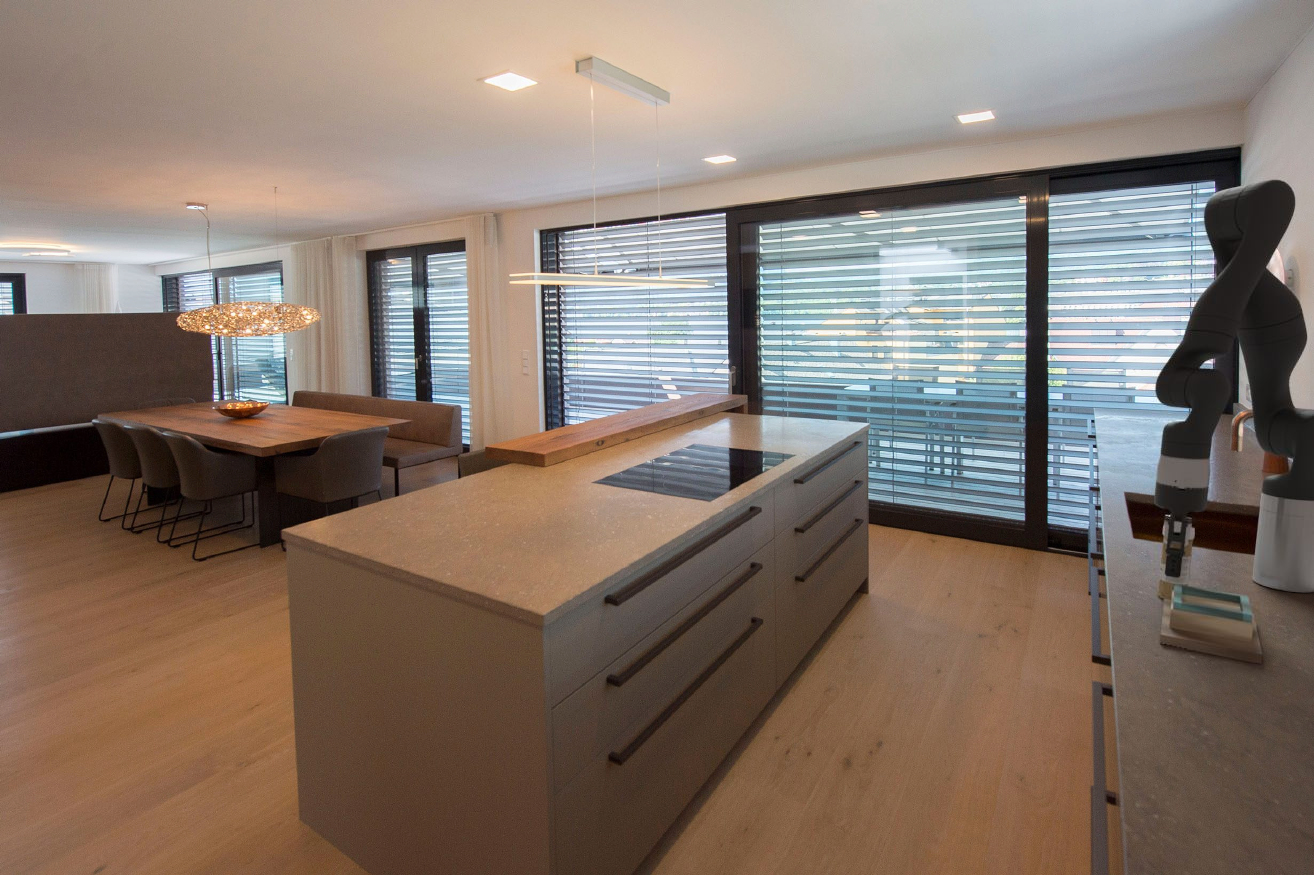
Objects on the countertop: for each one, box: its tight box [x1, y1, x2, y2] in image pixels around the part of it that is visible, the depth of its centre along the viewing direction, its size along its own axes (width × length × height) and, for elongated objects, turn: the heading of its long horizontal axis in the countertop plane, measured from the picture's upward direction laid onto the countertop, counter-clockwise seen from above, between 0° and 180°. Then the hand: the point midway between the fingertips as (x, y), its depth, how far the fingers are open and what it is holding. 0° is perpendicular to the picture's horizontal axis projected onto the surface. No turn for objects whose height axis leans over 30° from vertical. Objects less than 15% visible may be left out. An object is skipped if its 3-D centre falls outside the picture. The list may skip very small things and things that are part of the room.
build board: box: [1159, 584, 1263, 665], centre depth 113 cm, size 18×12×6 cm, turn 143°
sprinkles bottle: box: [1157, 525, 1196, 600], centre depth 127 cm, size 5×5×14 cm
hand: (1172, 569), depth 127 cm, fingers open, 8 cm apart
